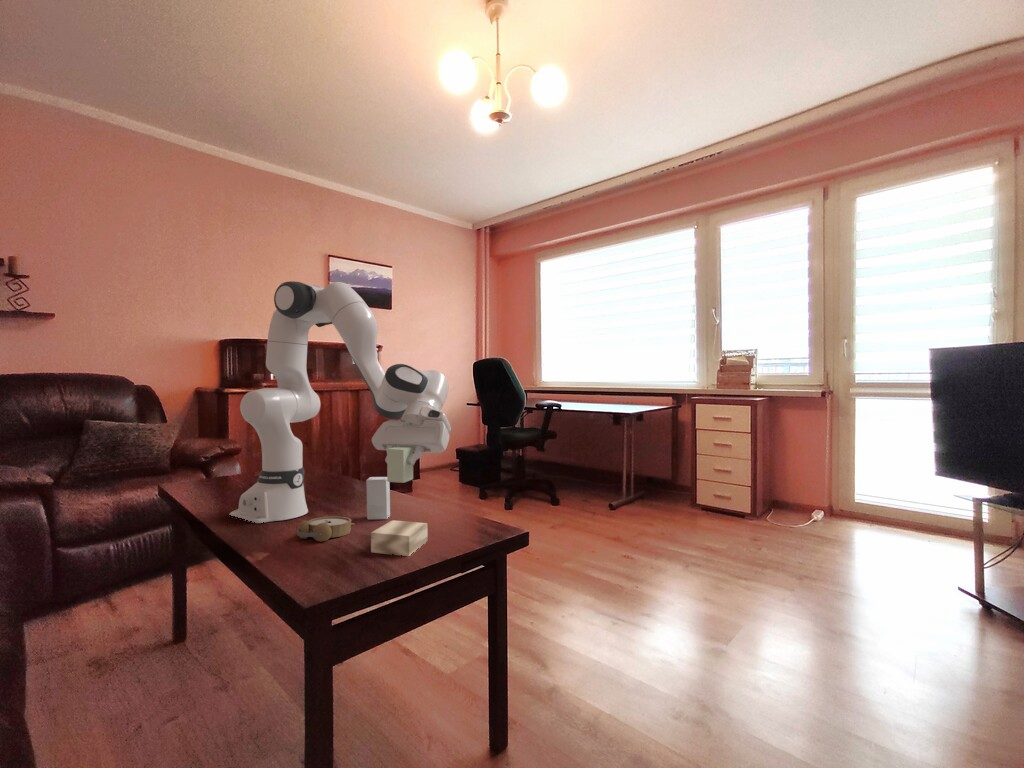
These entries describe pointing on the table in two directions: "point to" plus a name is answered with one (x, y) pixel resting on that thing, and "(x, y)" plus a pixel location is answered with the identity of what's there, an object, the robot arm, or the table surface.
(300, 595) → the table surface
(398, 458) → the sage block
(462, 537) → the table surface
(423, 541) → the birch block
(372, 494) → the skincare box
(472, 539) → the table surface
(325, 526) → the alarm clock
